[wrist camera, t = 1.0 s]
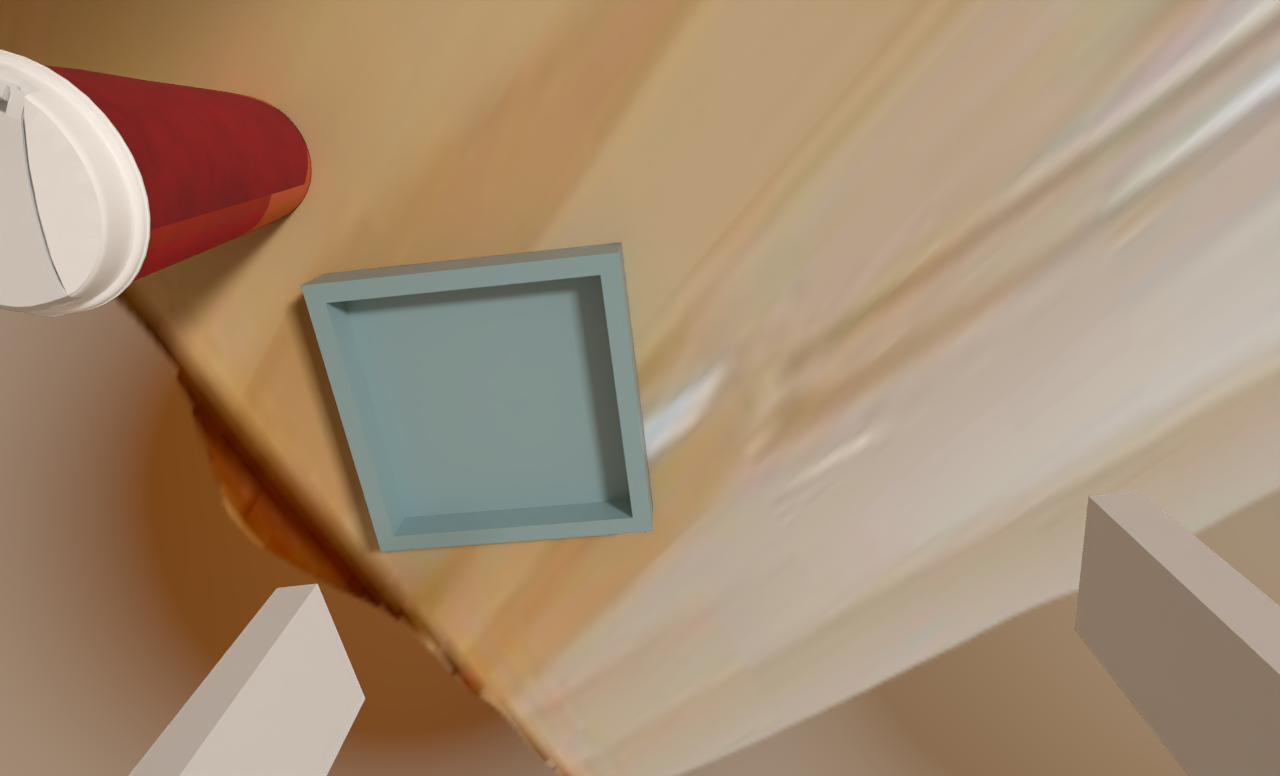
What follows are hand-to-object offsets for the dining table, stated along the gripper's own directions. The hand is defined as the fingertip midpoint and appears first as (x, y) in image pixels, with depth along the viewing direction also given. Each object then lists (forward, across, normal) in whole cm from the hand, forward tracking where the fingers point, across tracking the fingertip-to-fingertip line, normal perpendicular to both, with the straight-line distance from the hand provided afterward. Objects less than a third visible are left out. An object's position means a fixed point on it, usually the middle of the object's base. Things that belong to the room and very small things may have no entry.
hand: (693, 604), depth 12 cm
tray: (+26, -11, -6) cm, 29 cm away
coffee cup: (+26, -20, +8) cm, 34 cm away
